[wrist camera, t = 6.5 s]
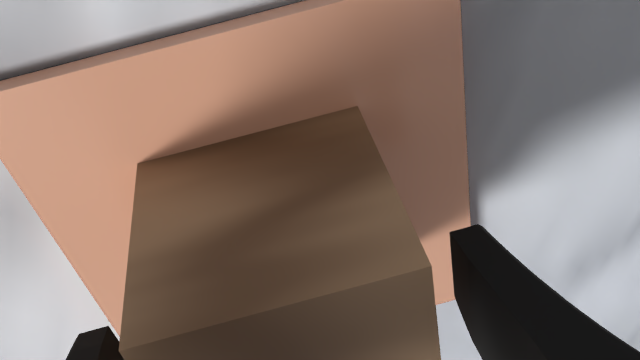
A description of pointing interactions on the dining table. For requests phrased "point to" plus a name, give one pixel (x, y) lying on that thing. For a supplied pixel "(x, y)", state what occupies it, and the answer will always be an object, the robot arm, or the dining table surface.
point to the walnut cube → (277, 252)
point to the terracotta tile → (242, 118)
